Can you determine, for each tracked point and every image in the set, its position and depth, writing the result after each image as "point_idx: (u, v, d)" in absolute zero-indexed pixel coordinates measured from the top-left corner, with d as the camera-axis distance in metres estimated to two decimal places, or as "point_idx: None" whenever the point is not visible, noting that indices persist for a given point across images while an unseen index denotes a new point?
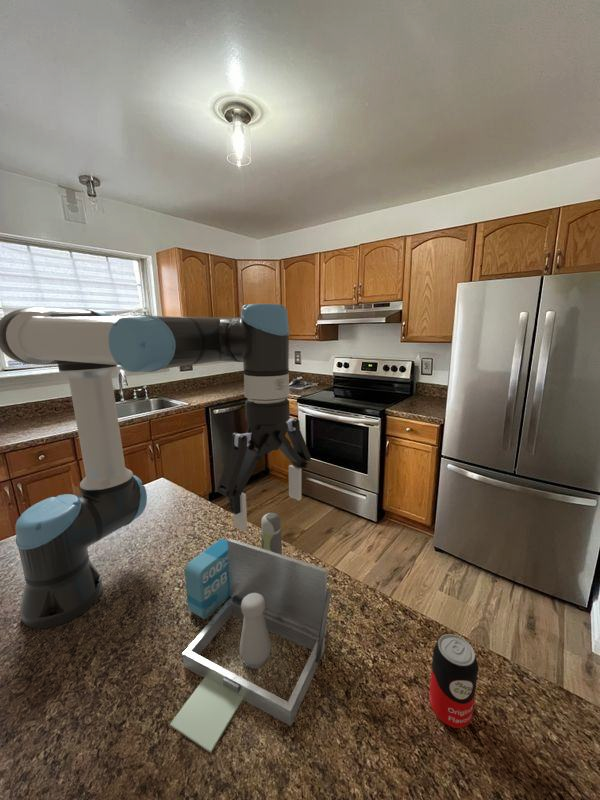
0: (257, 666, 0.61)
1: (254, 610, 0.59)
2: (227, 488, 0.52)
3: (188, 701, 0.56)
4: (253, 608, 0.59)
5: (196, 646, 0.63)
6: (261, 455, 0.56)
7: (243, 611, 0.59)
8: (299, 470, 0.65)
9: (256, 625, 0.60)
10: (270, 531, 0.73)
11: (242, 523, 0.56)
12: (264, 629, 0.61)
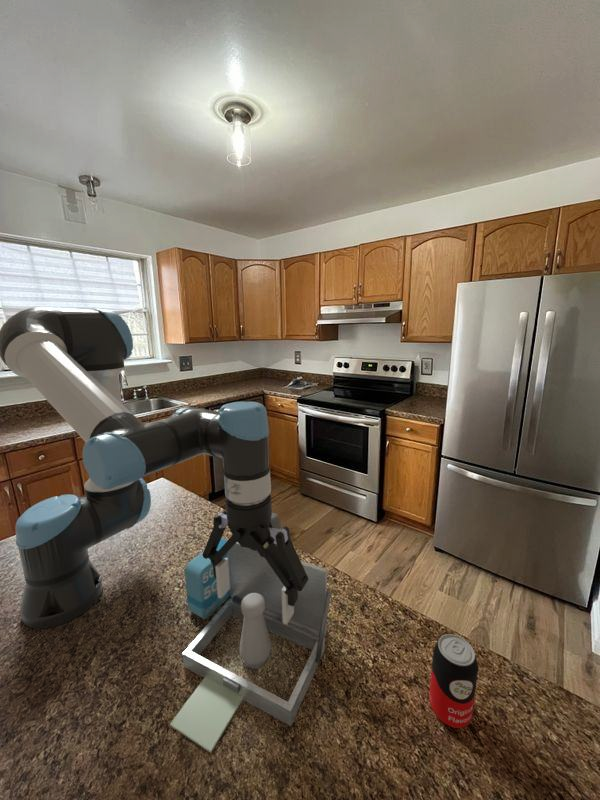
0: (257, 666, 0.61)
1: (254, 610, 0.59)
2: (204, 550, 0.62)
3: (188, 701, 0.56)
4: (253, 608, 0.59)
5: (196, 646, 0.63)
6: (230, 544, 0.58)
7: (243, 611, 0.59)
8: (282, 591, 0.55)
9: (256, 625, 0.60)
10: None
11: None
12: (264, 629, 0.61)
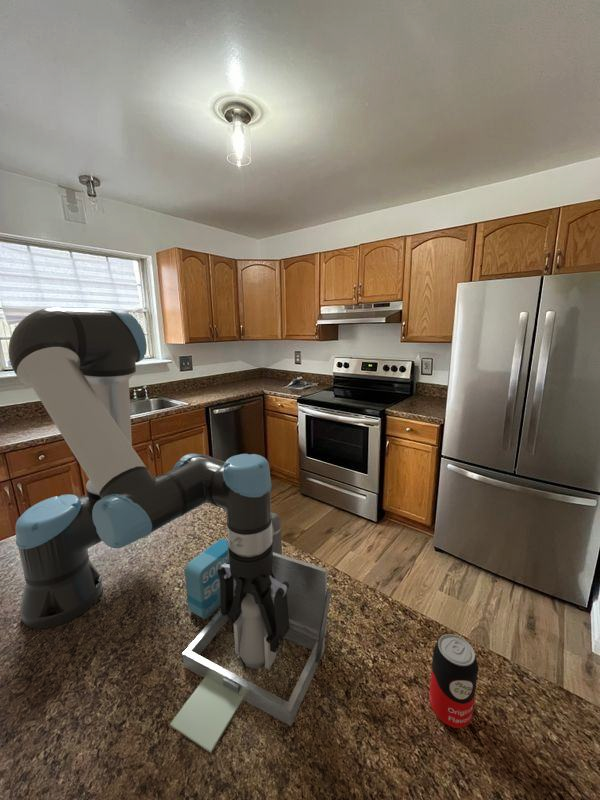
0: (257, 666, 0.61)
1: (254, 610, 0.59)
2: (221, 607, 0.63)
3: (188, 701, 0.56)
4: (253, 608, 0.59)
5: (196, 646, 0.63)
6: (237, 594, 0.60)
7: (243, 611, 0.59)
8: (265, 639, 0.59)
9: (256, 625, 0.60)
10: None
11: None
12: (264, 629, 0.61)
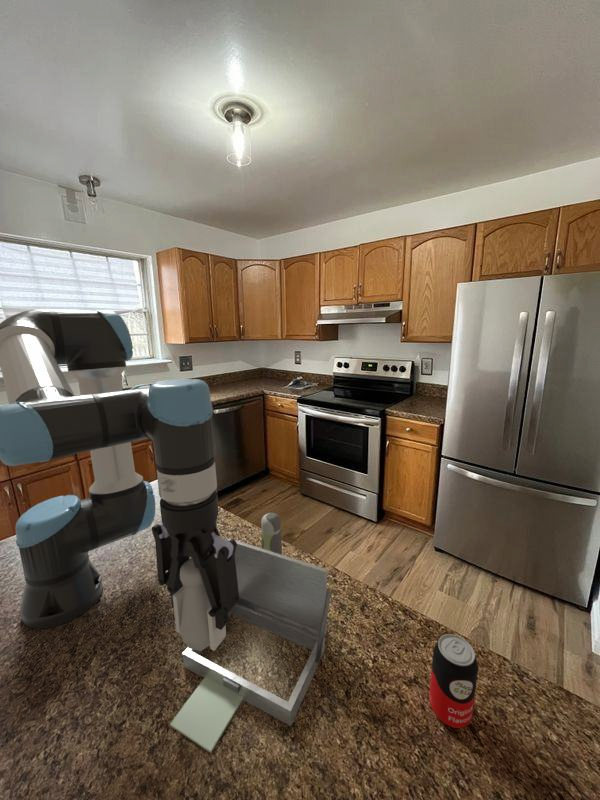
0: (200, 647, 0.49)
1: (194, 576, 0.47)
2: (158, 576, 0.51)
3: (188, 701, 0.56)
4: (193, 574, 0.47)
5: None
6: (174, 557, 0.48)
7: (181, 578, 0.47)
8: None
9: (197, 596, 0.48)
10: (270, 531, 0.73)
11: None
12: None
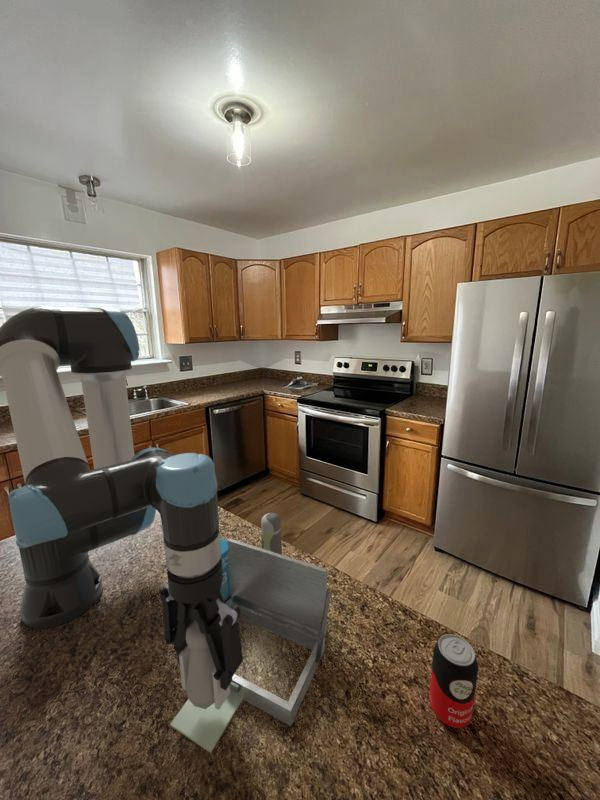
0: (206, 706, 0.51)
1: (199, 640, 0.49)
2: (165, 635, 0.54)
3: (188, 701, 0.56)
4: (199, 638, 0.49)
5: None
6: (180, 621, 0.50)
7: (187, 641, 0.50)
8: (213, 674, 0.50)
9: (203, 658, 0.50)
10: (270, 531, 0.73)
11: None
12: None
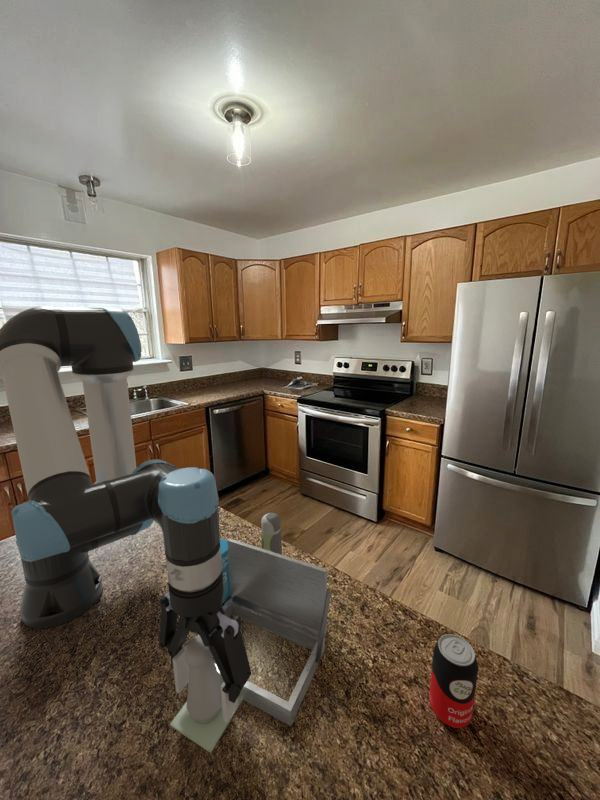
0: (206, 721, 0.52)
1: (198, 657, 0.50)
2: (159, 639, 0.55)
3: None
4: (197, 656, 0.50)
5: None
6: (179, 631, 0.51)
7: (186, 659, 0.50)
8: (222, 687, 0.49)
9: (202, 675, 0.51)
10: (270, 531, 0.73)
11: None
12: (213, 677, 0.52)
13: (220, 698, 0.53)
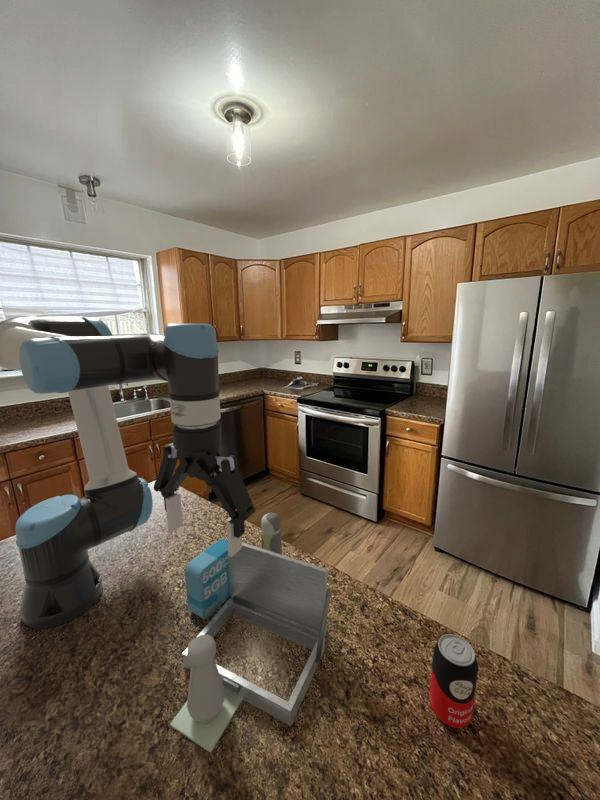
0: (206, 721, 0.52)
1: (200, 658, 0.50)
2: (155, 483, 0.60)
3: None
4: (200, 656, 0.50)
5: None
6: (178, 473, 0.56)
7: (188, 659, 0.51)
8: (227, 521, 0.53)
9: (204, 675, 0.51)
10: (270, 531, 0.73)
11: None
12: (215, 678, 0.52)
13: (221, 699, 0.53)
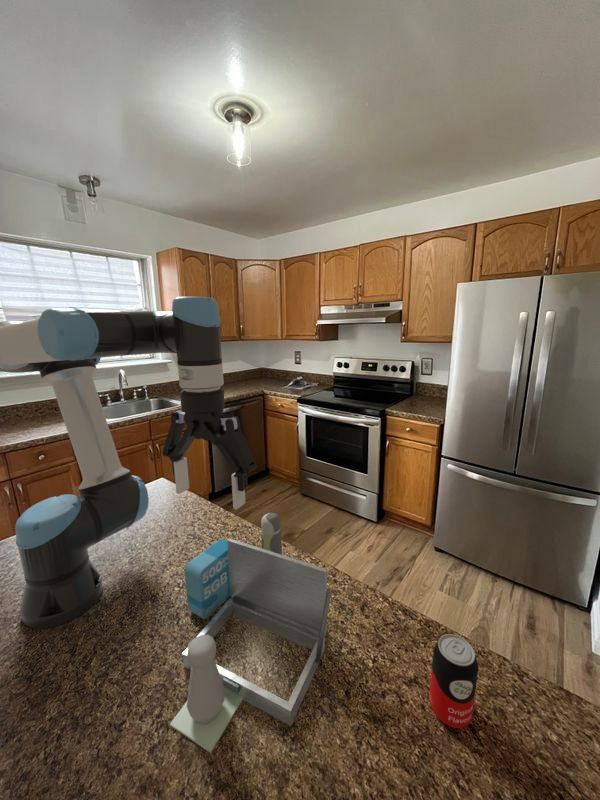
0: (206, 721, 0.52)
1: (200, 658, 0.50)
2: (163, 449, 0.66)
3: None
4: (200, 656, 0.50)
5: None
6: (185, 436, 0.62)
7: (188, 659, 0.51)
8: (232, 476, 0.59)
9: (204, 675, 0.51)
10: (270, 531, 0.73)
11: None
12: (215, 678, 0.52)
13: (221, 699, 0.53)
